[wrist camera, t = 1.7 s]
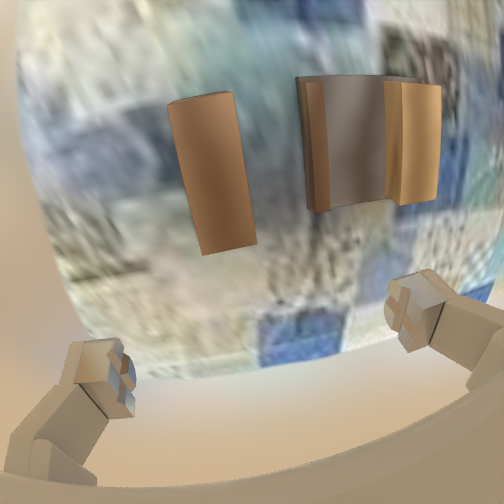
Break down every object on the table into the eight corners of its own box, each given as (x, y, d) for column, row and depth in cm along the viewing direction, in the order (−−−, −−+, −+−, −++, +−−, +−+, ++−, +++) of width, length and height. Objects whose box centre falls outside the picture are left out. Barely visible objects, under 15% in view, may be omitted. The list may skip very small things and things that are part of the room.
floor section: (415, 77, 25) (440, 81, 22) (414, 190, 32) (435, 203, 29) (295, 77, 24) (311, 76, 21) (307, 208, 31) (321, 225, 28)
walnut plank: (224, 90, 24) (232, 92, 19) (245, 214, 30) (257, 244, 25) (173, 101, 24) (166, 105, 19) (200, 223, 30) (202, 255, 25)
